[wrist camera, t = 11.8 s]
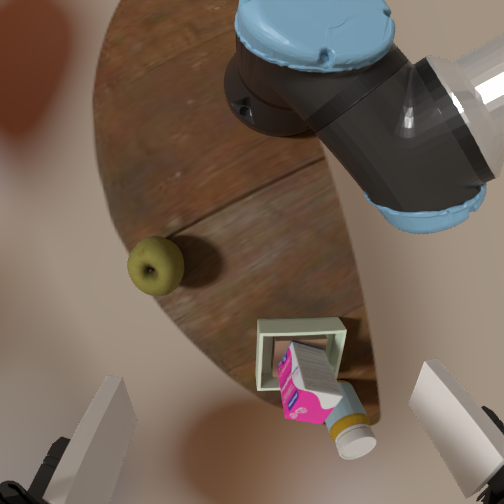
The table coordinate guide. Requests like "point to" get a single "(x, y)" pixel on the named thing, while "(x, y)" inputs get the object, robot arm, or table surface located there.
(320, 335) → the walnut block
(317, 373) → the supplement box
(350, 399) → the bottle
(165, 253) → the apple
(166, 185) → the table surface
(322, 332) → the box
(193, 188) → the table surface
